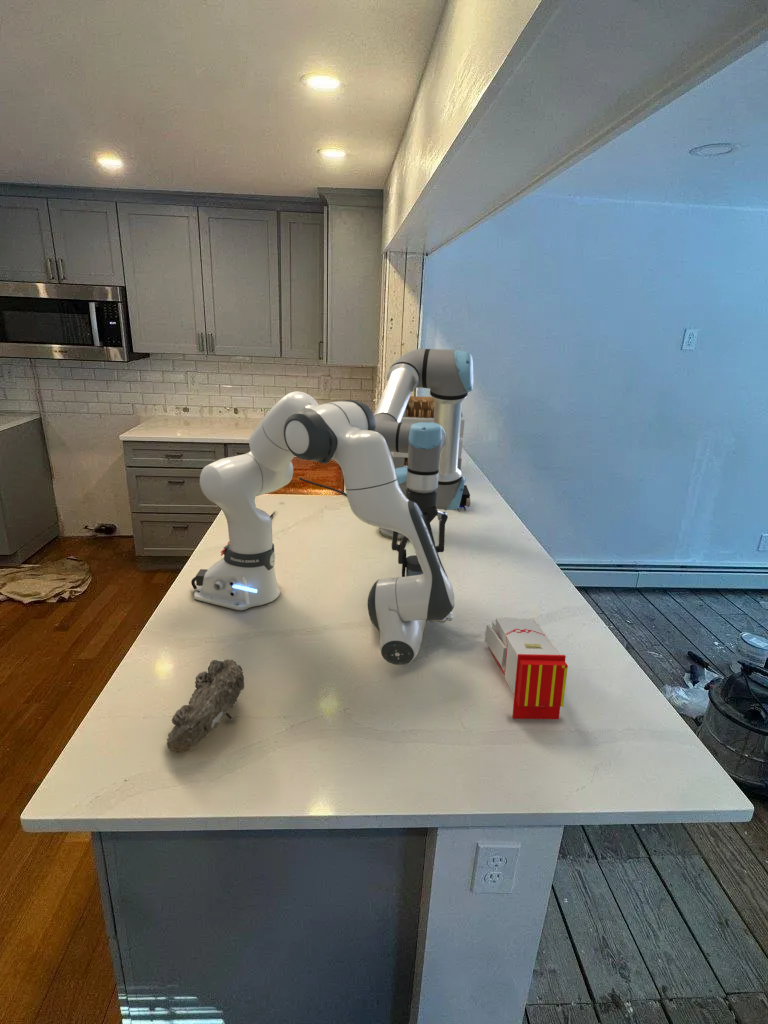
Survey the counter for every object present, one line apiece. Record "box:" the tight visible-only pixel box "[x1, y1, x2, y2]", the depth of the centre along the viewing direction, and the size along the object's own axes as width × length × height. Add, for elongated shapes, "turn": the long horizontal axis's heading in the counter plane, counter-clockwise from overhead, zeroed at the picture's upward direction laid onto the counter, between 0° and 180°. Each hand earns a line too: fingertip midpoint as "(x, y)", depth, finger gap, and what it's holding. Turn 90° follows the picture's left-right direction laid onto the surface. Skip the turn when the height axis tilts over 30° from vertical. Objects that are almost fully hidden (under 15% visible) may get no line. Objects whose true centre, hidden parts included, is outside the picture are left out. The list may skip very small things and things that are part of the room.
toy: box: [484, 617, 569, 720], centre depth 122 cm, size 12×13×30 cm
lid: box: [406, 554, 422, 572], centre depth 143 cm, size 6×6×2 cm
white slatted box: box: [390, 395, 465, 472], centre depth 268 cm, size 34×33×41 cm
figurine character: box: [456, 484, 471, 512], centre depth 229 cm, size 7×8×15 cm
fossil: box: [166, 658, 245, 754], centre depth 106 cm, size 22×10×15 cm
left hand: (414, 589), depth 146 cm, fingers closed on jar, 5 cm apart
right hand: (415, 575), depth 144 cm, fingers closed on lid, 6 cm apart
